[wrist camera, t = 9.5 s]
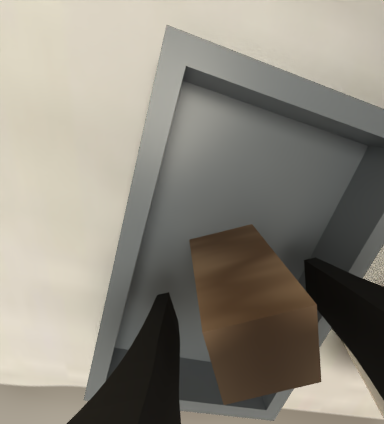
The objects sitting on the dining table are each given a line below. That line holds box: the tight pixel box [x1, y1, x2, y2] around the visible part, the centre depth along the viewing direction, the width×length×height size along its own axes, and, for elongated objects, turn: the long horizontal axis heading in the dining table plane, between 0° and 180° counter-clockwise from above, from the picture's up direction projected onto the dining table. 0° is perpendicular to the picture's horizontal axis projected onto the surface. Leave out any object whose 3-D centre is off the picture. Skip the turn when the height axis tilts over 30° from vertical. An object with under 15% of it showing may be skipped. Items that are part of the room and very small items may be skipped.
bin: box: [84, 25, 384, 421], centre depth 14 cm, size 13×20×4 cm, turn 163°
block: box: [189, 224, 321, 405], centre depth 12 cm, size 4×4×7 cm
